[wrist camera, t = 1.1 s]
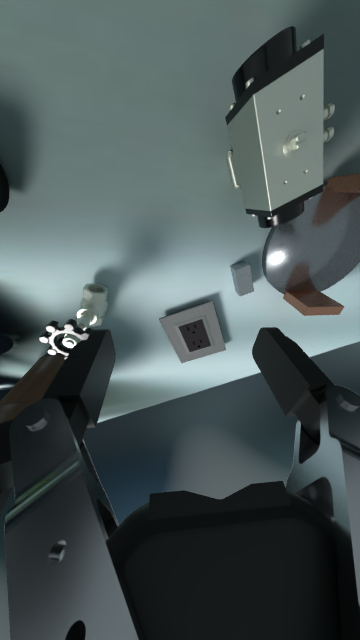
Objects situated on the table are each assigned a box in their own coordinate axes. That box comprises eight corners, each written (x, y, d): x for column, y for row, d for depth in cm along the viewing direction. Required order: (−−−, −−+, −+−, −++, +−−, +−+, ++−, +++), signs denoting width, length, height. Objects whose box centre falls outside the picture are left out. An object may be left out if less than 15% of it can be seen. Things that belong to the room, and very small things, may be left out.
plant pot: (114, 383, 45) (93, 459, 32) (58, 397, 47) (17, 475, 34) (76, 338, 36) (25, 418, 23) (8, 357, 38) (-75, 443, 25)
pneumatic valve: (236, 221, 26) (279, 234, 16) (209, 116, 20) (253, 35, 10) (273, 202, 25) (343, 204, 15) (257, 84, 19) (358, -41, 9)
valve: (119, 288, 31) (99, 330, 21) (114, 318, 34) (94, 366, 24) (79, 277, 29) (36, 317, 19) (77, 310, 33) (40, 357, 23)
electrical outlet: (223, 343, 41) (226, 350, 39) (180, 356, 42) (181, 364, 40) (210, 296, 34) (212, 302, 32) (159, 313, 35) (159, 320, 33)
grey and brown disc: (282, 177, 24) (324, 170, 18) (397, 180, 25) (474, 174, 19) (251, 295, 34) (270, 316, 27) (334, 293, 35) (370, 313, 29)
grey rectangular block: (229, 265, 30) (234, 270, 28) (244, 260, 30) (250, 264, 28) (235, 290, 33) (239, 296, 31) (248, 285, 33) (253, 291, 31)
